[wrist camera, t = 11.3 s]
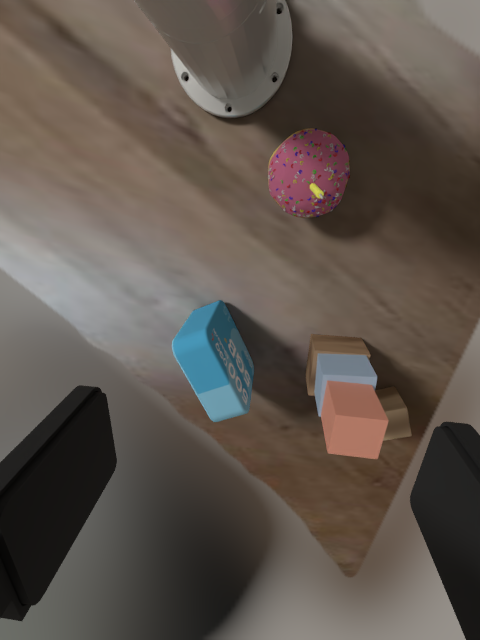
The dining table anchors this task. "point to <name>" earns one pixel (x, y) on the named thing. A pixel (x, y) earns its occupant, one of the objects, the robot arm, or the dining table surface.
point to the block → (394, 413)
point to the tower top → (341, 373)
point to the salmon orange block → (353, 419)
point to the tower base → (330, 346)
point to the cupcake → (309, 173)
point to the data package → (215, 361)
